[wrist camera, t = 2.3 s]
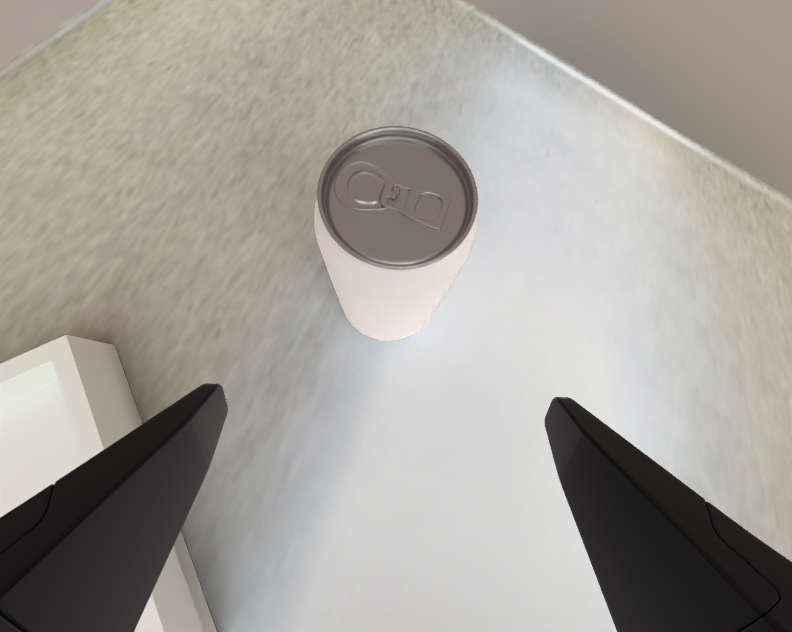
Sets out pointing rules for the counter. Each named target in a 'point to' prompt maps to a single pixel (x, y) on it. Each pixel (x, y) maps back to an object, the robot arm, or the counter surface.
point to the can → (394, 227)
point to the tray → (82, 450)
